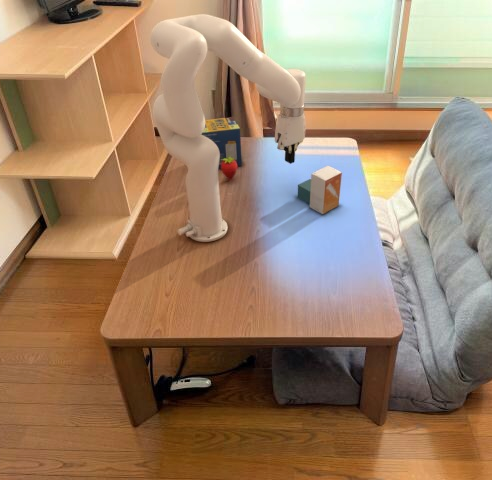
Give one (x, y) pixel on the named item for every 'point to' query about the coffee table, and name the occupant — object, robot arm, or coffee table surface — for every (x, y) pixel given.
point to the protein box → (225, 138)
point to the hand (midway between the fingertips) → (289, 161)
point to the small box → (325, 189)
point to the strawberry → (229, 167)
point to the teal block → (304, 191)
